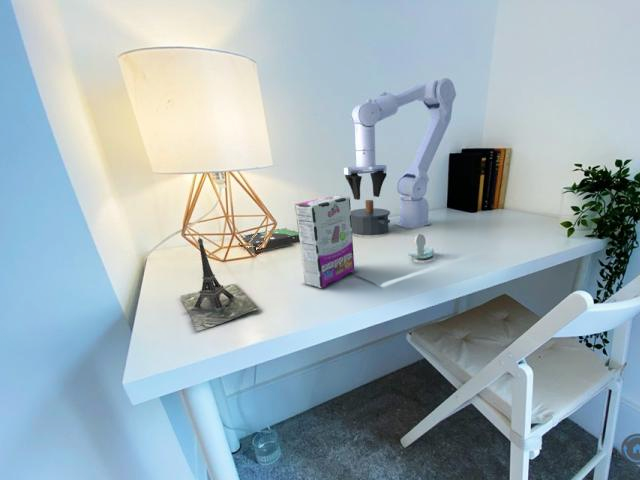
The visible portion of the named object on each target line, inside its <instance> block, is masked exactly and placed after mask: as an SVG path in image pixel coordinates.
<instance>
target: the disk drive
mask: <svg viewBox="0 0 640 480" xmlns="http://www.w3.org/2000/svg"><path fill="white" fill-rule="evenodd" d="M274 230H275V231H274V232H273V234H272V236H271V238H270V239H269V241H268V243H267V245H266V247H265V248H261V249H257V250H256V247H259V246H260V245H261V244H262V243H263V242H264V238H265V234H266V231H261V232H256V233H257V235H256V236H255V237H254V238H253V240H252V241H251V242H250V244H251V245H253V246H255V247H249V248H248V247H247V249H248V250H247V249H246V248H244V249H246V250H247V251H249V252H251V253H260V252H265V251H270V250H271V251H272V250H275V249H279V248H282V247H287V246H293V244H295V243H300V240H299V232H298V231H296V230H291V229H288V228H287V227H285V228H277V229H276V228H275V229H274ZM254 234H255V233H250V234H243V235H240V236H241V237H242V238H243V240H244V241H245V242H246V243H249V241H250V240H251V238H252V236H253V235H254ZM237 243H238V242H237ZM237 245H238V246H240V243H238V244H237Z"/></svg>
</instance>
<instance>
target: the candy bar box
mask: <svg viewBox="0 0 640 480" xmlns="http://www.w3.org/2000/svg"><path fill="white" fill-rule="evenodd" d="M294 208H295V209H294V210H295V216H296V222H297V223H296V225H297V232H299V240H300V242H299V246H300V254H301V261H302V269H303V270H302V271H303V279H304V284H305V285H307V286H311V287H314V288H318V289H324V288H326V287H329V286H330V285H332V284H334V283H336V282H337V281H338V282H339V280H341V279H343V278H345V277H347V276H348V275H351V274H353V272H354V271H355V258H354V257H355V256H354V255H355V254H354V241H353V233H352V223H351V211H352V210H351V209H352V208H351V197H350V196H344V195H329V196H325V197H320V198H316V199H312V200H311V199H310V200H308V201H307V200H306V201H302V202H299V203H294Z"/></svg>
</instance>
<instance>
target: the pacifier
mask: <svg viewBox="0 0 640 480" xmlns="http://www.w3.org/2000/svg"><path fill="white" fill-rule="evenodd" d="M414 243H415V244H414V245H416V253H409V252H406V255H408V256H409V257H412V258H413V262H415V263H420V264H424V263H431V262H434V261H436V260H437V258H438V257H437V256H436V255H434V254H435V250H434V248H433V247H432V246H425V245H426V237H425V235H424V234H422V233H418V234H417V235H416V236H415V238H414ZM428 258H429V259H428Z"/></svg>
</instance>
